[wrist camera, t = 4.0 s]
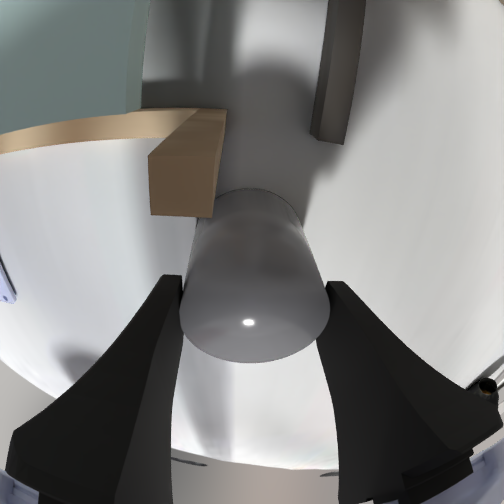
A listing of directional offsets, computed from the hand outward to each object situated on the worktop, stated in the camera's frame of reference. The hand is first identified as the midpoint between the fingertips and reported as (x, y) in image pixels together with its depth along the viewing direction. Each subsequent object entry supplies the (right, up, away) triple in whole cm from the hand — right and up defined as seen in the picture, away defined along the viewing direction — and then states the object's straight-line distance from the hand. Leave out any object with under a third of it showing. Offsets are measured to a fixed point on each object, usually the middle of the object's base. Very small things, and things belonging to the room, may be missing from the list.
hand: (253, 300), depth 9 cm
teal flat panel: (-8, +9, -8) cm, 14 cm away
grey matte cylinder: (0, +2, +3) cm, 4 cm away
